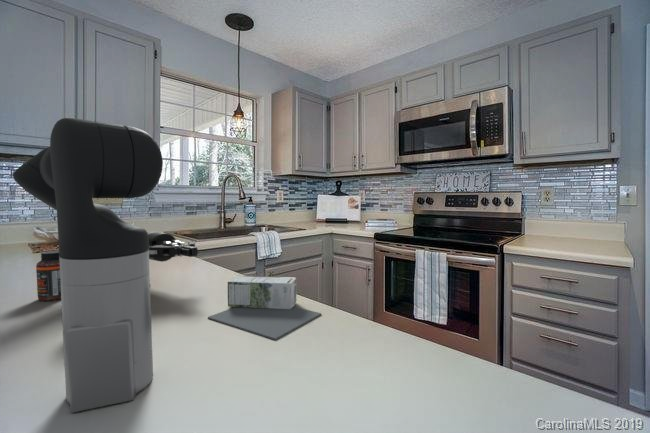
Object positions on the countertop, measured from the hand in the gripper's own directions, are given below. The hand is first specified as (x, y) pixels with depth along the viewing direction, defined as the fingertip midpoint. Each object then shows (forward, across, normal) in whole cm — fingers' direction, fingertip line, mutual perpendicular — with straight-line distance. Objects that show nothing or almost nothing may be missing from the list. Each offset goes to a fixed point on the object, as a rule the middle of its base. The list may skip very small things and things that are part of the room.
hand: (194, 252), depth 77 cm
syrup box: (+11, +1, +8) cm, 14 cm away
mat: (+23, 0, +11) cm, 25 cm away
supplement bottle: (-29, -19, +12) cm, 36 cm away
